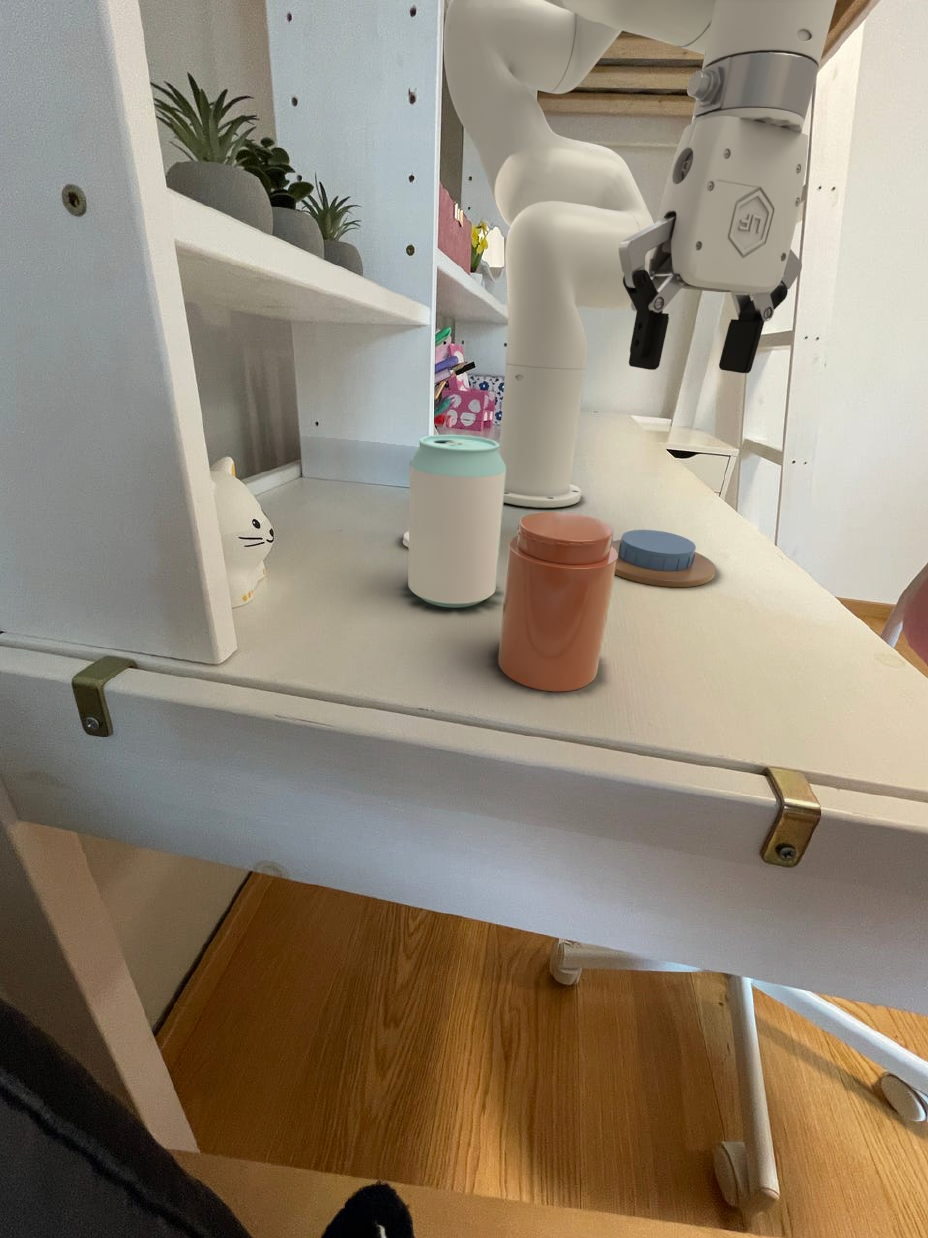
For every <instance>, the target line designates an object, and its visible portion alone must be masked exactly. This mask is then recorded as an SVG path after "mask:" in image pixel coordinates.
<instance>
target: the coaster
mask: <svg viewBox="0 0 928 1238" xmlns="http://www.w3.org/2000/svg"><path fill="white" fill-rule="evenodd" d="M620 541H621V539H617V540H612V544H611V546H612V547H613V548H614V549H615V550H616V551H617V553H618V560H617V566H616V571H615V576H617V577H620V578H623V579H626V580H630V581H633V582H636V583H640V584H645V585H651V586H657V587H664V588H665V587H667V588H691V587H697V586H702V585H706V584H707V583H710V582H711V581H712V580H713V579H714V577H715V574H716V572H717V571H716V570H717V569H716V568H717V567H716V566H715V563H713V561H711V559H709V558H708V557H706V556H705V555H703V554H701V553H699V552H696V551H695V557H694V561H693V565H691V566H690V567H689V568H687V569H684V570H679V571H660V570H653V569H647V568H643V567H640V566H636V565H634V564H631V563H629V562H627V561H625V560H624V559H622V558H621V557H620V555H619V546H620Z"/></svg>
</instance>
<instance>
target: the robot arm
mask: <svg viewBox="0 0 928 1238" xmlns="http://www.w3.org/2000/svg"><path fill="white" fill-rule="evenodd" d="M836 4H837V0H450V1H449V4H448V7H447V10H446V14H445V19H444V25H443V27H444V28H443V61H444V71H445V78H446V82H447V88H448V91H449V96H450V99H451V102H452V105H453V108H454V110H455V112H456V115H457V117H458V119H459V122H460V123H461V124H462V126H463V128H464V130H465V132H466V133H467V135H468V137H469V138H470V140H471V142H472V144H473V146H474V148H475V149H476V152H477V154H478V157H479V160H480V162H481V166H482V168H483V172H484V174H485V177H486V179H487V180H486V181H487V182H488V185H489V187H490V190H491V193H492V196H493V199H494V202H495V204H496V206H497V209H498V211H499V213H500V216H501V217H502V219H503V221H504V222H505V223H506V225H507V226H508V227H509V229H508V233H507V236H506V241H505V254H504V256H505V257H504V259H505V262H504V263H505V274H506V275H505V276H506V287H507V288H506V289H507V339H506V341H507V342H506V352H505V353H506V354H505V370H504V381H503V382H504V383H503V393H502V394H503V395H502V406H501V420H500V430H499V431H500V432H499V442H498V443H499V450H498V452H499V454H500V456H501V458H502V460H503V462H504V464H505V465H506V478H505V489H504V501H503V504H508V505H513V506H519V507H520V506H521V507H526V508H527V507H528V508H540V509H541V508H542V509H543V508H545V509H547V508H549V509H550V508H551V509H552V508H553V509H554V508H564V507H570V506H573V505H576V504H577V503H579V502H580V501H581V497H582V491H581V489H580V488H579V487H578V486H577V485H574V484H573V483H571V481H572V475H573V474H572V473H573V467H574V466H573V465H574V458H575V452H576V445H577V444H576V443H577V436H578V430H579V423H580V422H579V421H580V414H581V409H582V408H581V407H582V400H583V393H584V386H585V378H586V371H587V362H588V354H589V353H588V339H587V335H586V331H585V328H584V325H583V322H582V319H581V317H580V314H579V311H578V307H585V308H586V307H587V308H599V309H610V310H615V309H617V310H618V309H626V308H629V307H630V308H631V310H632V311H633V312H635V313H636V314H635V319H634V325H633V329H632V335H631V341H630V347H629V358H628V365H629V367H633V368H638V369H643V370H648V371H649V370H650V371H655V370H657V369H658V368H659V367H660V364H661V359H662V354H663V351H664V345H665V341H666V335H667V330H668V327H669V326H668V325H669V320H670V317H669V316H670V313H668V312H667V313H664V312H663V311H664V309H665V308H666V307H667V306H668V305H669V303H670V302H671V301H672V300H673V298H675V296H676V295H677V294H678V293H679V292H680V290H681V289H686V290H693V291H703V292H714V293H715V292H716V293H730V296H731V298H732V302H733V305H734V308H735V312H736V315H737V319H735V318H734V319H733V318H731V319H730V322H729V324H728V327H727V332H726V335H725V339H724V343H723V347H722V351H721V355H720V359H719V363H718V368H719V369H720V370H721V371H727V372H731V373H732V372H733V373H739V374H749V373H750V372H751V371H752V369H753V365H754V362H755V357H756V354H757V351H758V347H759V344H760V339H761V336H762V332H763V329H764V326H765V323H766V322H769V321H771V319H772V318H773V316H774V313H775V310H776V309H777V308H778V307H779V306H780V305H781V304H782V303H783V302H784V301H785V300H786V298H787V297H788V294H789V290H790V289H791V287H792V285H793V284H794V282H795V281H796V280H797V278H798V276H799V274H800V273H801V271H802V268H803V263H802V261H801V260H800V259H799V257H798V256H797V255H796V253H795V252H794V251H793V250H792V243H793V239H794V234H795V230H796V225H797V222H798V221H797V220H798V217H799V212H800V207H801V201H802V196H803V195H802V194H803V190H804V184H805V178H806V169H807V159H808V149H809V135H808V134H806V133H803V132H802V131H803V128H804V124H805V121H806V117H807V114H808V110H809V107H810V102H811V98H812V96H813V91H814V87H815V83H816V79H817V76H818V72H819V68H820V64H821V60H822V56H823V52H824V49H825V45H826V42H827V37H828V35H829V30H830V26H831V22H832V18H833V15H834V12H835V8H836ZM622 32H626V33H630V34H634V35H638V36H640V37H645V38H648V39H652V40H655V41H657V42H661V43H665V44H669V45H672V46H675V47H677V48H681V49H683V50H687V51H690V52H693V53H697V54H701V55H703V56H704V59H703V61H702V62H703V63H702V68H701V70H699V69H698V70H695V71H694V72H693V73H692V74H691V76H690V78H689V80H688V82H687V86H686V87H687V89H686V93H687V95H688V96H689V97H691V98H694V99H695V103H694V108H693V113H692V119H691V123H690V124H688V125H687V126H686V127H684V129H683V133H682V134H681V138H680V140H679V143H678V145H677V148H676V151H675V154H674V157H673V160H672V162H671V166H670V169H669V173H668V175H667V179H666V183H665V186H664V189H663V194H662V197H661V201H660V206H659V209H658V213H657V218H656V221H655V222H654V220H653V217H652V215H651V213H650V211H649V209H648V207H647V204H646V203H645V200H644V198H643V196H642V194H641V191H640V189H639V186H638V185H637V183H636V180H635V178H634V176H633V174H632V172H631V170H630V168H629V166H628V165H627V163H626V161H625V160H624V158H623V157H621V156H620V155H619V154H618V153H617V152H615V151H614V150H612V149H610V148H608V147H606V146H604V145H601V144H600V145H599V144H595V143H591V142H587V141H581V140H576V139H572V138H568V137H565V136H562V135H559V134H557V133H555V132H554V131H553V130H552V128H551V127H550V125H549V123H548V121H547V118H546V116H545V113H544V111H543V108H542V106H541V105H540V103H539V102H538V100H537V98H536V97H535V96H534V95H533V94H532V93H531V92H530V91H529V89H531V90H536V91H539V92H544V93H548V94H555V95H563V94H566V93H569V92H571V91H573V90H574V89H575V88H577V87H578V86H579V85H580V84H581V83H582V82H583V81H584V79H585V78H586V77H587V76H588V75H589V73H590V72H591V71H592V70H593V68H594V67H595V66H596V64H597V63H598V62H599V61H600V59H601V58H602V57H603V55H604V54H605V53H606V51H608V49H609V48H610V47H611V45H612V44H613V43H614V42H615V41H616V39H617V38H618V37H619V35H620V34H621V33H622Z"/></svg>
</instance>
